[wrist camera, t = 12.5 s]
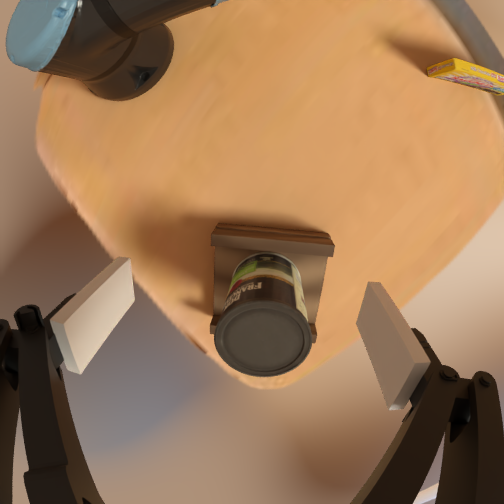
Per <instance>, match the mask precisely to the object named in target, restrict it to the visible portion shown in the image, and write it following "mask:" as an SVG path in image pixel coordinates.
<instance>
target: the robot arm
mask: <svg viewBox="0 0 504 504" xmlns="http://www.w3.org/2000/svg"><path fill="white" fill-rule="evenodd" d="M225 1H228V0H20V2H19V3H18V5H17V7H16V9H15V12H14V13H13V15H12V18H11V20H10V23H9V26H8V30H7V36H6V51H7V55H8V57H9V59H10V60H11V61H12V62H13V63H14V64H16V65H18V66H22V67H25V68H28V69H30V70H31V71H39V72H44V73H49V74H54V75H59V76H64V77H69V78H73V79H78V80H81V81H82V82H83V83H84V84H85V85H86V86H87V87H88V88H89V89H90V91H91V92H92V93H94V94H95V95H97V96H99V97H101V98H104V99H108V100H112V101H125V100H130V99H133V98H135V97H138V96H140V95H142V94H143V93H145V92H146V91H148V90H149V89H151V88H152V87H153V86H154V85H155V84H156V83H157V82H158V81H159V80H160V79H161V77H162V76H163V75H164V73H165V72H166V70H167V68H168V66H169V64H170V62H171V59H172V56H173V50H174V41H173V36H172V34H171V31H170V30H169V28H168V27H167V26H166V25H165V24H164V23H165V22H167V21H170V20H172V19H175V18H177V17H180V16H183V15H186V14H188V13H191V12H194V11H197V10H200V9H203V8H206V7H209V6H210V7H215V6H217V5H218V4H219V3H222V2H225ZM134 301H135V298H134V290H133V281H132V271H131V260H130V258H126V257H118V258H117V259H115V260H114V261H113V262H112V263H111V264H110V265H108V266H107V267H106V268H105V269H104V270H103V271H102V272H100V273H99V274H98V275H97V276H96V277H95V278H94V279H93V280H91V281H90V282H89V283H88V284H87V285H86V286H85V287H84V288H83V289H82V290H80V291H79V292H78V293H77V294H73V295H71V296H69V297H67V298H65V299H64V301H62V302H61V304H59V305H58V306H57V307H56V309H54V310H53V311H52V312H51V313H50V314H48V316H46V318H44V319H42V315H41V312H40V309H39V307H38V306H36V305H25V306H22V307H21V308H19V309H18V310H17V311H16V312H15V313H14V318H15V321H16V323H17V326H18V328H19V330H14V329H11V328H10V326H9V323H8V321H7V320H4V319H0V504H12V476H13V457H14V456H13V455H14V445H15V435H16V427H17V420H18V414H19V408H20V412H21V421H22V429H23V437H24V444H25V450H26V455H27V461H28V465H29V471H27V472H25V473H24V483H25V487H26V491H27V495H28V499H29V502H30V504H105V503H104V502H103V500H102V499H101V497H100V495H99V493H98V491H97V489H96V486H95V483H94V481H93V479H92V476H91V474H90V471H89V469H88V466H87V463H86V460H85V457H84V454H83V452H82V449H81V445H80V442H79V439H78V436H77V433H76V430H75V426H74V422H73V419H72V415H71V411H70V407H69V403H68V398H67V394H66V390H65V384H64V379H63V374H62V370H61V368H60V364H61V363H62V362H63V361H64V362H65V365H66V367H67V369H68V370H69V371H72V372H75V373H78V374H81V373H82V372H83V370H84V369H85V368H86V366H87V365H88V363H89V362H90V360H91V359H92V358H93V356H94V355H95V353H96V352H97V351H98V349H99V348H100V346H101V345H102V344H103V342H104V341H105V339H106V338H107V337H108V335H109V334H110V333H111V331H112V330H113V329H114V327H115V326H116V324H117V323H118V322H119V320H120V319H121V318H122V317H123V315H124V314H125V313H126V311H127V310H128V308H129V307H130V306H131V305H132V303H133V302H134ZM356 324H357V327H358V329H359V332H360V334H361V337H362V339H363V342H364V344H365V347H366V350H367V352H368V355H369V357H370V360H371V362H372V365H373V368H374V371H375V373H376V376H377V379H378V381H379V384H380V387H381V390H382V393H383V395H384V399H385V401H386V404H387V407H388V410H397V409H404V407H405V406H406V404H407V402H408V401H409V399H410V402H411V404H412V407H411V409H410V410H409V412H408V413H407V415H406V416H405V418H404V419H403V421H402V422H403V423H402V425H401V427H400V429H399V431H398V432H397V434H396V436H395V438H394V440H393V441H392V443H391V445H390V446H389V448H388V450H387V451H386V453H385V455H384V456H383V458H382V459H381V461H380V462H379V464H378V465H377V467H376V468H375V470H374V471H373V473H372V475H371V476H370V477H369V479H368V480H367V482H366V483H365V484H364V486H363V487H362V489H361V490H360V491H359V493H358V494H357V495H356V497H355V498H354V499H353V500H352V502H351V503H350V504H413V502H414V500H415V498H416V496H417V495H418V493H419V491H420V489H421V487H422V485H423V483H424V480H425V478H426V476H427V474H428V472H429V470H430V467H431V465H432V463H433V461H434V458H435V456H436V453H437V451H438V448H439V446H440V443H441V441H442V438H443V435H444V432H445V439H444V450H443V459H442V467H441V474H440V480H439V486H438V491H437V497H436V501H435V504H504V431H503V422H502V414H501V407H500V401H499V395H498V390H497V384H496V381H495V379H494V378H493V377H492V375H490V374H489V373H487V372H483V371H478V372H476V373H475V375H474V376H473V377H472V379H464V378H460V377H459V375H458V373H457V372H456V371H455V370H454V369H453V368H451V367H449V366H446V365H442V364H441V362H440V361H439V359H438V357H437V356H436V354H435V353H434V351H433V350H432V348H431V346H430V345H429V343H427V340H426V338H425V337H424V335H423V334H422V333H421V332H419V331H418V330H417V329H416V328H410V327H409V325H408V323H407V322H406V320H405V319H404V317H403V316H402V314H401V313H400V311H399V309H398V308H397V306H396V305H395V303H394V302H393V300H392V299H391V297H390V296H389V294H388V293H387V291H386V290H385V289H384V287H383V286H382V284H381V283H379V282H368V284H367V288H366V291H365V295H364V299H363V302H362V305H361V309H360V312H359V316H358V319H357V322H356Z"/></svg>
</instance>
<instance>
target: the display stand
mask: <svg viewBox="0 0 504 504" xmlns="http://www.w3.org/2000/svg"><path fill="white" fill-rule="evenodd" d="M211 246H215V265H214V315H213V318H212V321H211V324H210V334H214V333H215V329H216V326H217V323H218V321H219V319H220V316H221V313H222V310H223V307H224V304H225V301H226V298H227V294H228V291H229V288H230V285H231V281H232V277H233V273H234V271H235V269H236V267H237V266H238V264H239V263H240V262H241V261H242V260H244V259H245V258H246V257H248V256H250V255H252V254H255V253H260V252H273V253H277V254H280V255H283V256H285V257H286V258H288V259H289V260H290V261H292V262H293V264H294V265H295V266H296V267H297V269H298V271H299V273H300V276H301V284H302V289H303V295H304V301H305V306H306V311H307V318H308V323H309V326H310V329H311V333H312V343H315V342H316V338H317V332H316V327H315V321H316V316H317V312H318V307H319V302H320V296H321V291H322V286H323V281H324V275H325V269H326V264H327V258H328V257H333V253H334V247H335V245H334V244H333V242H332V240H331V237H330V235H329V234H328V233H319V232H309V231H299V230H288V229H278V228H267V227H256V226H244V225H232V224H220V223H218V224H217V226H216V228H215V230H214V231H213V233H212V234H211Z"/></svg>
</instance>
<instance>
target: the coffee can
mask: <svg viewBox="0 0 504 504" xmlns="http://www.w3.org/2000/svg"><path fill="white" fill-rule="evenodd" d="M214 342H215V347H216V349H217V351H218V353H219V355H220V357H221V358H222V359H223V360H224V361H225V362H226V363H227V364H228V365H229V366H230V367H232V368H233V369H235V370H237V371H239V372H241V373H244V374H247V375H250V376H256V377H272V376H278V375H282V374H285V373H287V372H289V371H291V370H293V369H295V368H296V367H298V366H299V365H300V364H301V363H302V362H303V361H304V360H305V359H306V357H307V356H308V354H309V352H310V349H311V346H312V333H311V329H310V326H309V323H308V318H307V311H306V306H305V301H304V295H303V289H302V284H301V276H300V273H299V271H298V269H297V267H296V266H295V265H294V264H293V262H292V261H290V260H289V259H288V258H286V257H285V256H283V255H280V254H277V253H273V252H260V253H255V254H252V255H250V256H248V257H246V258H245V259H244V260H242V261H241V262H240V263H239V264H238V266H237V267H236V269H235V271H234V273H233V277H232V281H231V285H230V288H229V291H228V294H227V298H226V301H225V304H224V307H223V310H222V313H221V316H220V319H219V321H218V323H217V326H216V329H215V333H214Z"/></svg>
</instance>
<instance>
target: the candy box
mask: <svg viewBox="0 0 504 504" xmlns="http://www.w3.org/2000/svg"><path fill="white" fill-rule="evenodd" d="M427 73H428V77H433V78H437V79H442V80H446V81H450V82H454V83H458V84H461V85H465V86H468V87H472V88H476V89H479V90H482V91H486V92H489V93H492V94H494V95H504V75H502V74H499V73H497V72H494V71H492V70H489V69H487V68H484V67H481V66H479V65H476V64H473V63H470V62H467V61H463V60H460V59H457V58H452V59H449V60H446V61H443V62H440V63H437V64H434V65H432V66H429V67H427Z"/></svg>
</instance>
